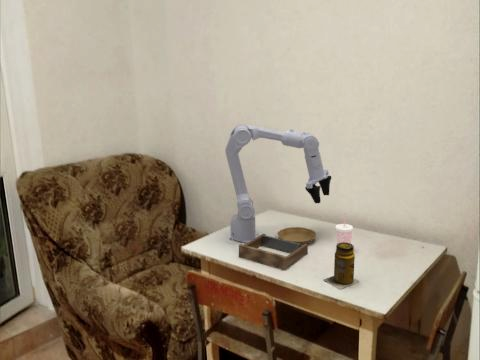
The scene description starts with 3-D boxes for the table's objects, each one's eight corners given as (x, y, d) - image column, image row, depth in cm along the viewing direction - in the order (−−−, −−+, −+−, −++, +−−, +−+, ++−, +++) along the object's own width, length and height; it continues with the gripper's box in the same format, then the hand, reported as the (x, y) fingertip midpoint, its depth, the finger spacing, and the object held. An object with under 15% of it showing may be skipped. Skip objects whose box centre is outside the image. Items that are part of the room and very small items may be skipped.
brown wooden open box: (238, 256, 161) (238, 245, 160) (263, 242, 173) (263, 231, 172) (285, 270, 150) (285, 257, 149) (307, 253, 163) (307, 241, 161)
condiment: (359, 281, 142) (361, 246, 138) (340, 289, 137) (341, 253, 134) (342, 273, 147) (343, 238, 144) (323, 280, 143) (324, 245, 140)
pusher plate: (262, 245, 170) (261, 235, 169) (263, 244, 171) (263, 234, 170) (299, 255, 161) (299, 244, 160) (300, 254, 162) (300, 243, 161)
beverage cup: (331, 250, 164) (332, 214, 161) (340, 245, 169) (341, 209, 165) (346, 255, 160) (348, 217, 157) (355, 249, 165) (356, 213, 161)
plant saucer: (272, 235, 180) (272, 229, 179) (306, 231, 184) (306, 225, 183) (285, 250, 166) (285, 243, 166) (322, 244, 170) (322, 238, 169)
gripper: (315, 171, 163) (323, 206, 166) (332, 158, 173) (339, 191, 177) (298, 172, 167) (306, 206, 171) (316, 159, 178) (323, 191, 181)
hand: (322, 198), depth 174 cm, fingers open, 7 cm apart
